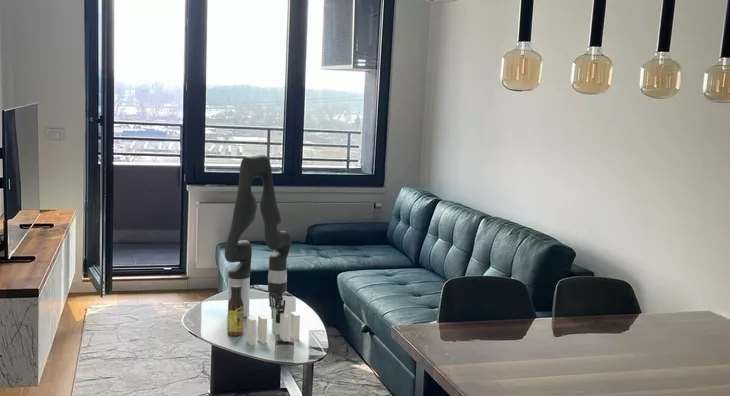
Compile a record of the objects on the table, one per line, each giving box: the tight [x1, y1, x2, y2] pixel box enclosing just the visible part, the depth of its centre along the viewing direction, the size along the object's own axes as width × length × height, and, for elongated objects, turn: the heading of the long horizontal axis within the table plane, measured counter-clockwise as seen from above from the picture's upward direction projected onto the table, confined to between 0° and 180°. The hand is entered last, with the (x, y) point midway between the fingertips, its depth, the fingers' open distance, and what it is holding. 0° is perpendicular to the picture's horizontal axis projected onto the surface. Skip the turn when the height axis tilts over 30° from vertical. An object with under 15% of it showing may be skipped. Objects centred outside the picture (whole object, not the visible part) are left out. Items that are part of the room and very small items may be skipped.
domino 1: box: [246, 315, 257, 346], centre depth 269 cm, size 5×2×10 cm, turn 26°
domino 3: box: [271, 308, 280, 336], centre depth 282 cm, size 5×2×10 cm, turn 26°
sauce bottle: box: [226, 285, 244, 337], centre depth 277 cm, size 7×6×20 cm
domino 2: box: [257, 314, 268, 345], centre depth 271 cm, size 5×2×10 cm, turn 26°
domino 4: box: [279, 312, 290, 342], centre depth 275 cm, size 5×2×10 cm, turn 26°
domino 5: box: [289, 311, 301, 341], centre depth 277 cm, size 5×2×10 cm, turn 26°
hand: (276, 320), depth 281 cm, fingers closed on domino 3, 5 cm apart
